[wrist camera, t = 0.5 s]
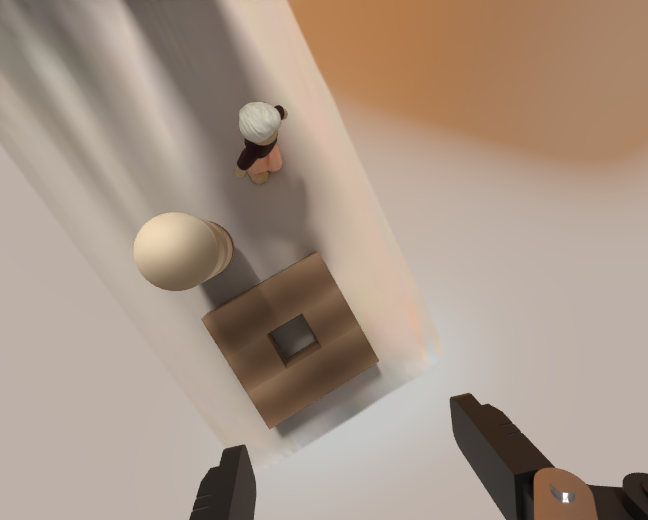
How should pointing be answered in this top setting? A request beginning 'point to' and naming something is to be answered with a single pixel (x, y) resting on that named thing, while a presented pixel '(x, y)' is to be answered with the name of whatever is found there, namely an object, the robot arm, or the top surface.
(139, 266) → the beech peg
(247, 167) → the grandmother figurine
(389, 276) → the top surface
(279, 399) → the walnut board
